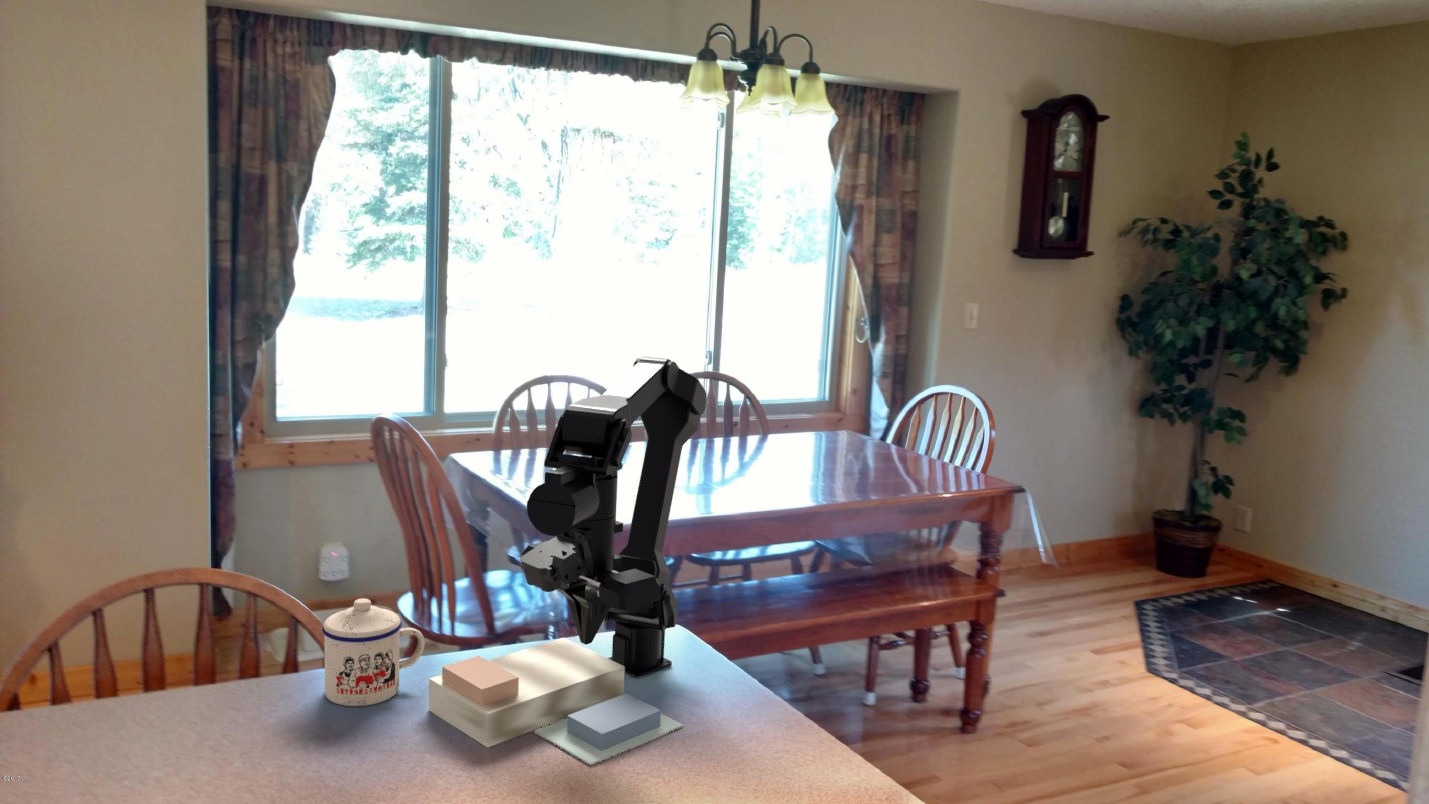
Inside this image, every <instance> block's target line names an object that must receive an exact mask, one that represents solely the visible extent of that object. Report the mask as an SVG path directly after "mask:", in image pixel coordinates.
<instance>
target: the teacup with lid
mask: <svg viewBox="0 0 1429 804" xmlns="http://www.w3.org/2000/svg"><path fill="white" fill-rule="evenodd" d="M321 629H322V634H323V635H324V641H323V642H324V695H325V697H326V698H327V699H328V700H329V701H330V702H332V703H334V704H336V705H341V706H346V707H364V706H367V707H368V706H371V705H372V706H373V705H377V704H381V703H383V702H385V701H387V700H390V699H391V698H392V697H394V696H395V695H396V694H397V692H399V689H400V670H403V669H406V668H409V667H411V666H413V665H414V664H416V663H417V662H418V661H419V659H420V658H421V656H422V654H423V652H424V649H425V638H424V635H423V634H422V632H421V631H420V630H419V629H416V628H415V627H414V628H413V627H402V620H401V618H400V616H399V615H398V614H397V613H396V612H395V611H393V610H389V609H387V608H382V607H378V606H375V605H372V601H371V600H370V599H368V598H357V599H355V600H354V601H353V606H350V607H348V608H346V609H344V610H341V611H338V612H335V613H333V614H332V615H329V616H328V617H327V618H326V620H324V622H323V625H322V628H321ZM403 636H414V637H416V638H417V645H416V648H415V649H414V652H413V653H412V654H411V656H409V657H408V658H407V659H403V660H400V637H403Z"/></svg>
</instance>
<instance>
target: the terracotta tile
mask: <svg viewBox="0 0 1429 804" xmlns="http://www.w3.org/2000/svg"><path fill="white" fill-rule="evenodd" d="M441 669H442V670H441V671H442V674H441V675H442V683H443V684H445V685H447V686H448V687H450V688H452V689H453V690H455V691H457V692H458V693H460V694H462V695H464V696H465V697H467V698H469V699H470V700H472V701H474V702H475V703H477V704H479V705H480V706H484V705H487V704H490V703H493V702H496V701H499V700H502V699H505V698H507V697H510V696H513V695H516V694H518V689H519V677H517V676H515V675H513V674H512V673H510V672H508V671H506V670H504V669H502V668H501V667H499V666H497V665H495V664H493V663H491V662H489V661H488V659H486V658H484V657H482V656H480V655H476V656H473V657H470V658H466V659H463V660H460V661H457V662H454V663H450V664H447V665H444V666H442V668H441Z"/></svg>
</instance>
